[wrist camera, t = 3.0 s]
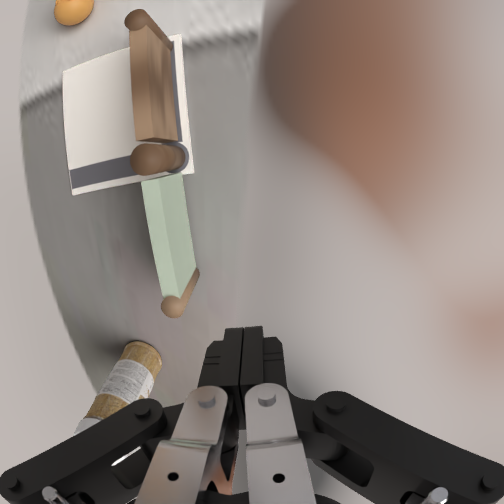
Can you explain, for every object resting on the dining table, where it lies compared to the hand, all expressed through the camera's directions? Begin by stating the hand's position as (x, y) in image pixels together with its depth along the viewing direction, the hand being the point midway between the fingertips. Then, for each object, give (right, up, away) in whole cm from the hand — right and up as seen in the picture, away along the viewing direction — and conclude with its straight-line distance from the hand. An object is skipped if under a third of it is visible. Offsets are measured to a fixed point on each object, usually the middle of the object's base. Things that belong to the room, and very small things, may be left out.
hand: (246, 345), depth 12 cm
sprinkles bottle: (-11, -7, +18) cm, 22 cm away
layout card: (-11, +16, +10) cm, 22 cm away
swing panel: (-5, +6, +13) cm, 15 cm away
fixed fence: (-7, +16, +10) cm, 20 cm away
